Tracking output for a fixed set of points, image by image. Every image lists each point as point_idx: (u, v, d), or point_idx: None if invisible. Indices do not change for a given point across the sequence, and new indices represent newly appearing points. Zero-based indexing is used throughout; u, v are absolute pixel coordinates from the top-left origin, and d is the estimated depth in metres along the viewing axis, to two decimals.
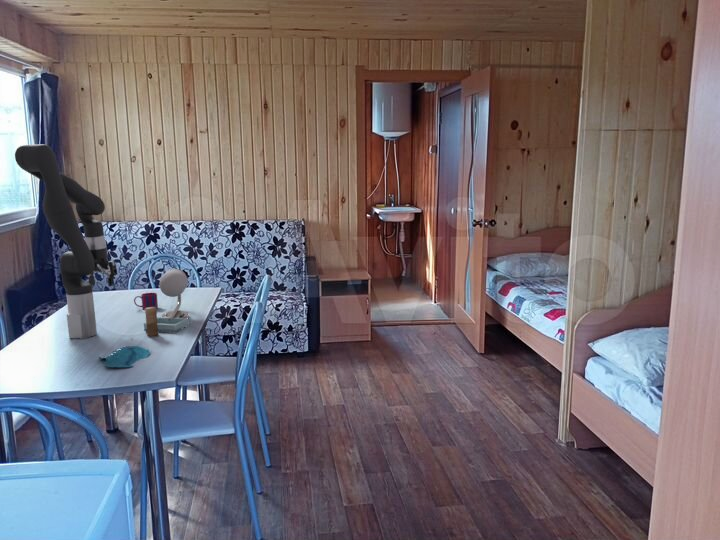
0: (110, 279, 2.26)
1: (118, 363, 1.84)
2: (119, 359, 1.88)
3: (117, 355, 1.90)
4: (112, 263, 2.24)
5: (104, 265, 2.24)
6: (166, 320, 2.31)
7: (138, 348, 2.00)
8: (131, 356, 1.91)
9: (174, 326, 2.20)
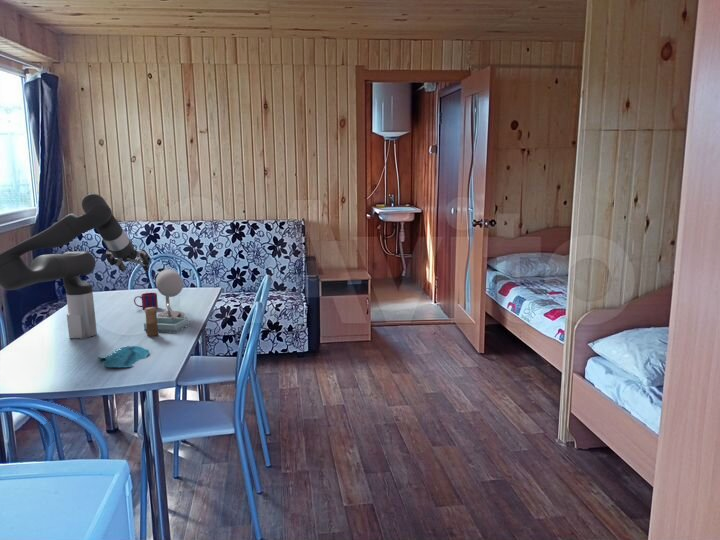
0: (145, 266, 2.00)
1: (118, 363, 1.84)
2: (119, 359, 1.88)
3: (117, 355, 1.90)
4: (143, 254, 1.95)
5: (134, 257, 1.95)
6: (166, 320, 2.31)
7: (138, 348, 1.99)
8: (130, 356, 1.91)
9: (174, 326, 2.20)
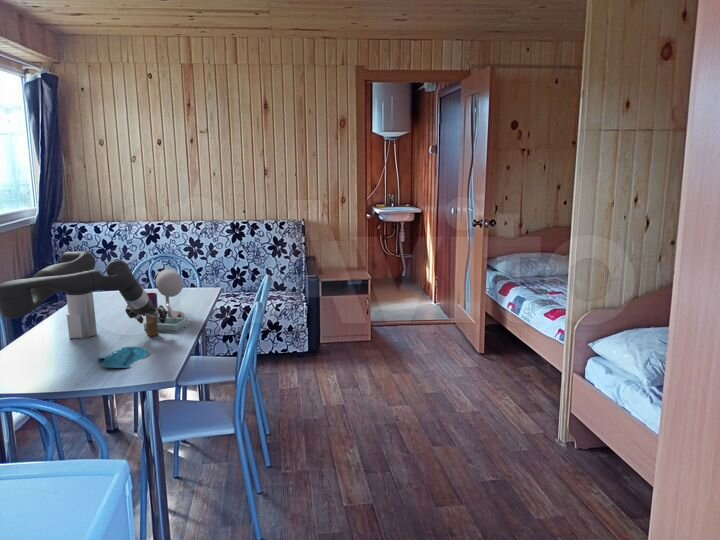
0: (162, 319, 2.14)
1: (116, 364, 1.84)
2: (117, 359, 1.88)
3: (116, 355, 1.90)
4: (161, 310, 2.09)
5: (153, 312, 2.09)
6: (166, 320, 2.31)
7: (138, 348, 1.99)
8: (129, 356, 1.90)
9: (174, 326, 2.20)
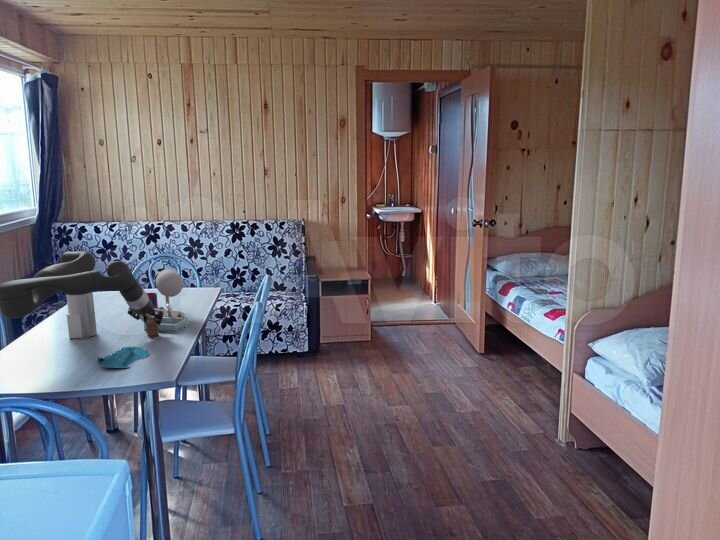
0: (158, 320, 2.16)
1: (116, 364, 1.84)
2: (117, 359, 1.87)
3: (115, 355, 1.90)
4: (162, 312, 2.10)
5: (153, 313, 2.10)
6: (166, 320, 2.31)
7: (137, 349, 1.99)
8: (129, 357, 1.90)
9: (174, 326, 2.20)
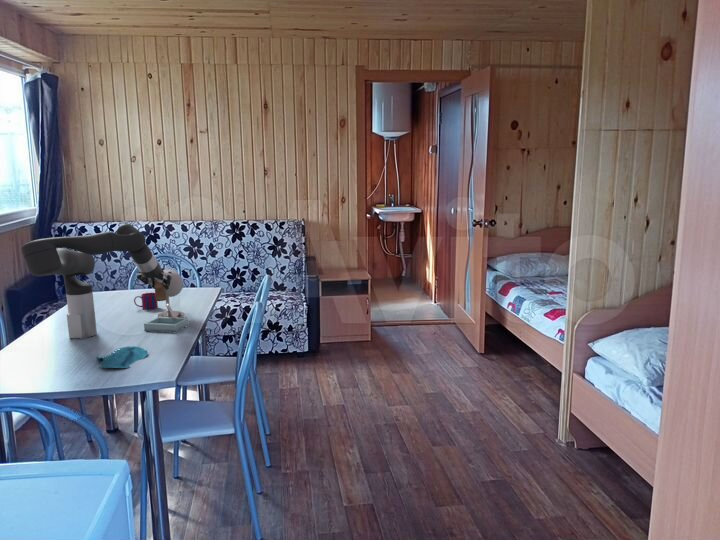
0: (166, 285, 2.22)
1: (115, 364, 1.84)
2: (116, 359, 1.87)
3: (115, 355, 1.90)
4: (170, 276, 2.17)
5: (161, 277, 2.17)
6: (166, 320, 2.31)
7: (137, 348, 1.99)
8: (128, 357, 1.90)
9: (174, 326, 2.20)
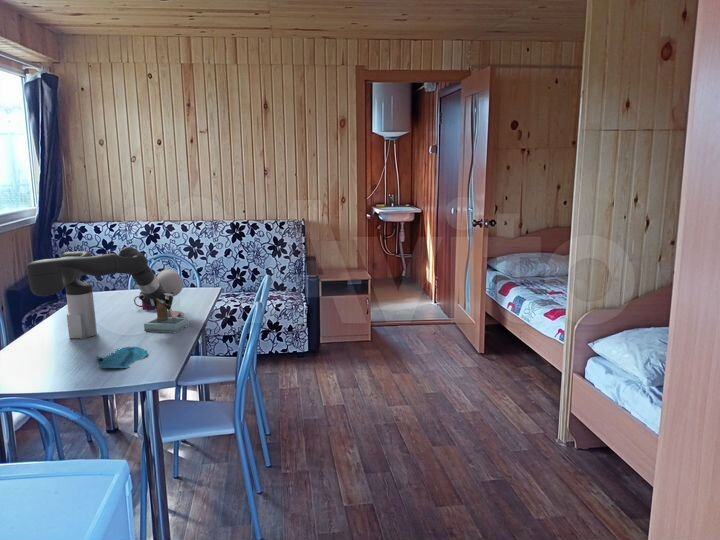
0: (168, 305, 2.23)
1: (114, 364, 1.84)
2: (116, 359, 1.87)
3: (114, 355, 1.90)
4: (172, 297, 2.18)
5: (163, 298, 2.18)
6: None
7: (137, 349, 1.99)
8: (128, 357, 1.90)
9: (174, 326, 2.20)
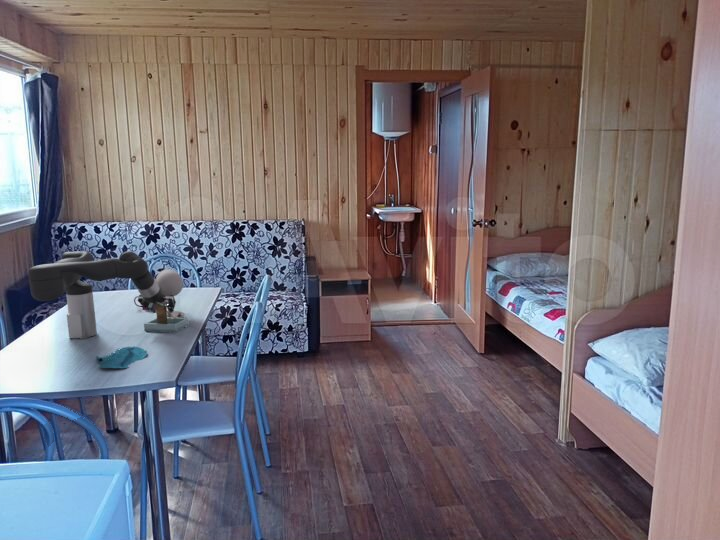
0: (171, 308, 2.24)
1: (113, 364, 1.83)
2: (116, 359, 1.87)
3: (114, 356, 1.90)
4: (172, 299, 2.18)
5: (163, 301, 2.18)
6: None
7: (137, 349, 1.99)
8: (128, 357, 1.90)
9: (174, 326, 2.20)
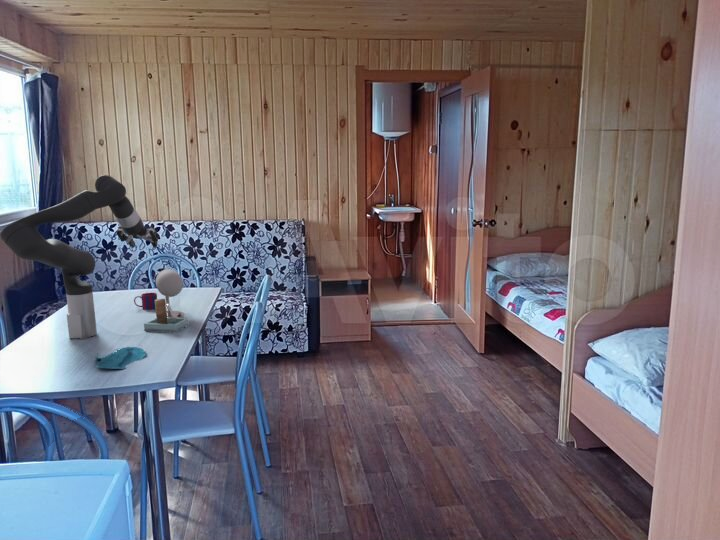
0: (154, 242, 2.13)
1: (111, 364, 1.83)
2: (114, 360, 1.87)
3: (113, 356, 1.89)
4: (153, 231, 2.07)
5: (144, 233, 2.08)
6: None
7: (136, 349, 1.98)
8: (126, 357, 1.89)
9: (174, 326, 2.20)
